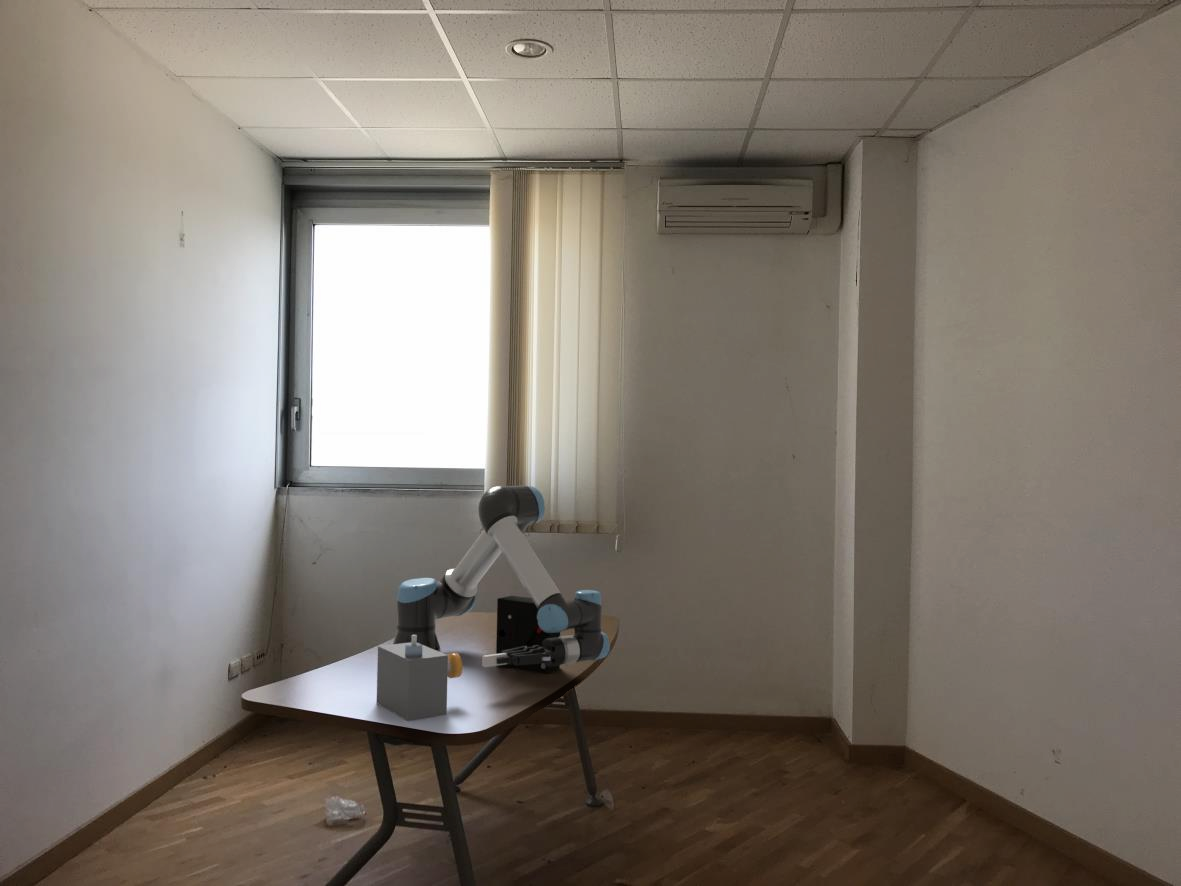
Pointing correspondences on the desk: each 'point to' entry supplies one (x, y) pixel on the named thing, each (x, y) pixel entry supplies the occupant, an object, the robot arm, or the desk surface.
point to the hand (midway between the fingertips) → (483, 661)
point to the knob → (454, 665)
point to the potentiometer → (413, 648)
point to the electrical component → (520, 630)
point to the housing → (412, 682)
